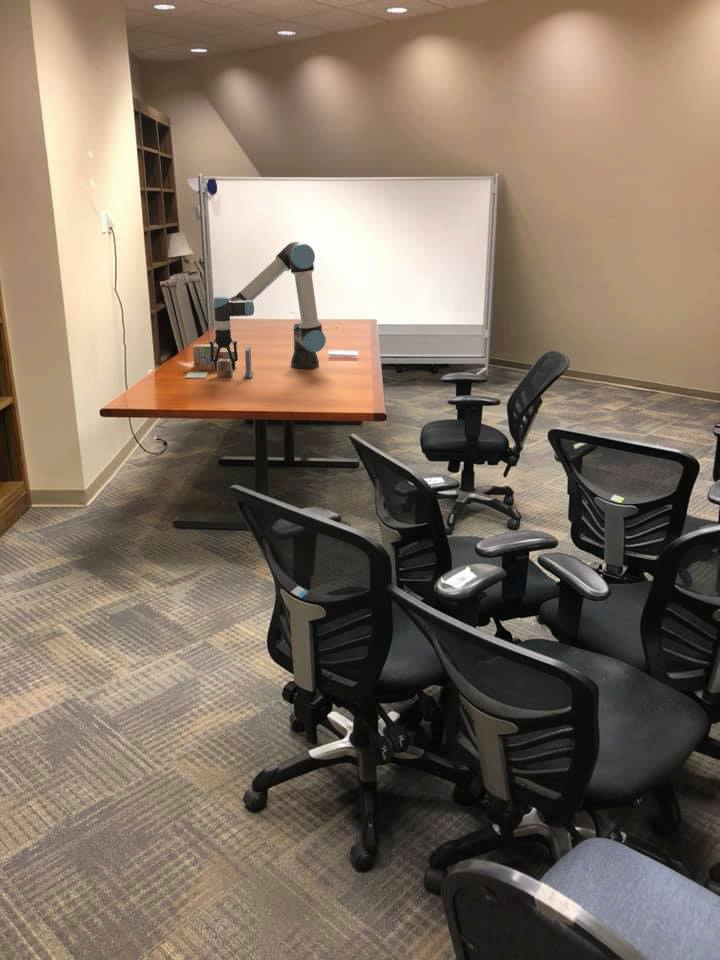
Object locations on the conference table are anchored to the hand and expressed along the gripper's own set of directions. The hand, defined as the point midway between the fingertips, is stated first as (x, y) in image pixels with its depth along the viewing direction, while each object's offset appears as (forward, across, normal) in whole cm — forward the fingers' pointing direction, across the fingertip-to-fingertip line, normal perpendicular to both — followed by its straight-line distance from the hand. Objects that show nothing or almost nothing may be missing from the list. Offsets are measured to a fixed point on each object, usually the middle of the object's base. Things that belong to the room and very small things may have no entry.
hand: (225, 374), depth 385 cm
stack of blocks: (+1, +8, -19) cm, 21 cm away
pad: (0, +14, 0) cm, 14 cm away
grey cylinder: (0, 0, 0) cm, 0 cm away
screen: (+1, -12, 0) cm, 12 cm away
